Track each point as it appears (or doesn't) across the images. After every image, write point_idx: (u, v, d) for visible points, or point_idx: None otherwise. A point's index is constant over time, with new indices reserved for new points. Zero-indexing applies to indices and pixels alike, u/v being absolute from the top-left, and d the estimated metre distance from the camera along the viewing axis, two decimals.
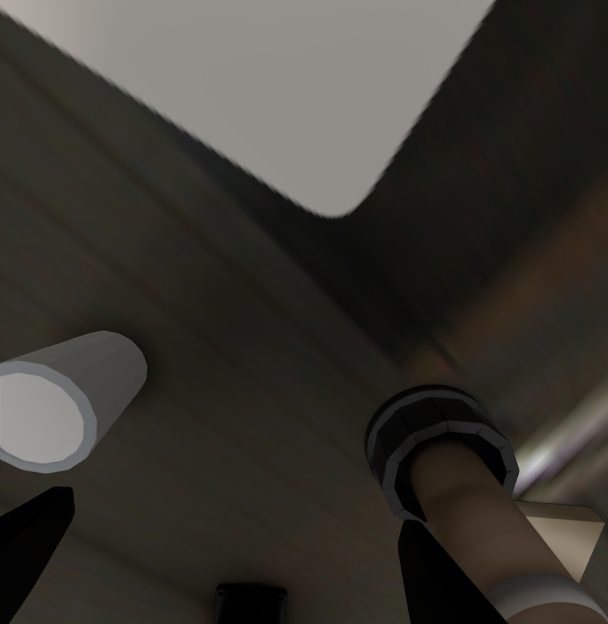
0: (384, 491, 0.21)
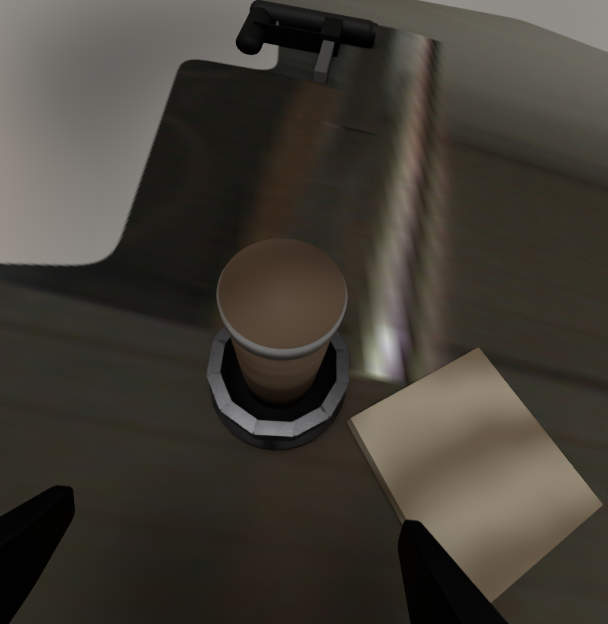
0: (225, 411, 0.19)
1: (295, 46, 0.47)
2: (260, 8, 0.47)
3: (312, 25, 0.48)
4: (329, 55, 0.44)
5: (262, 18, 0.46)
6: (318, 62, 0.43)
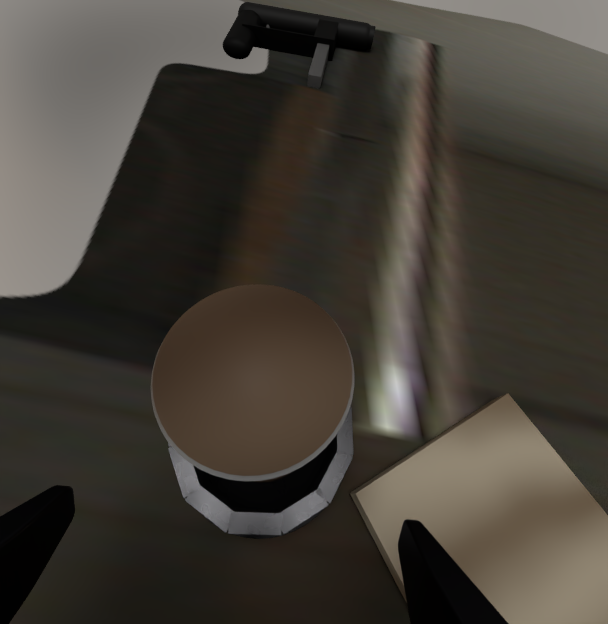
0: (190, 500, 0.14)
1: (287, 50, 0.44)
2: (249, 10, 0.44)
3: (305, 29, 0.45)
4: (323, 59, 0.41)
5: (251, 21, 0.43)
6: (312, 66, 0.40)
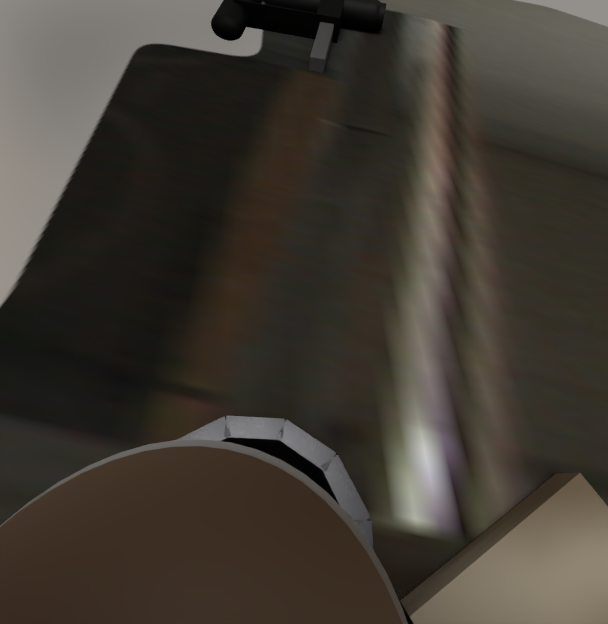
0: None
1: (285, 31, 0.38)
2: None
3: (306, 6, 0.39)
4: (328, 39, 0.35)
5: None
6: (314, 47, 0.34)
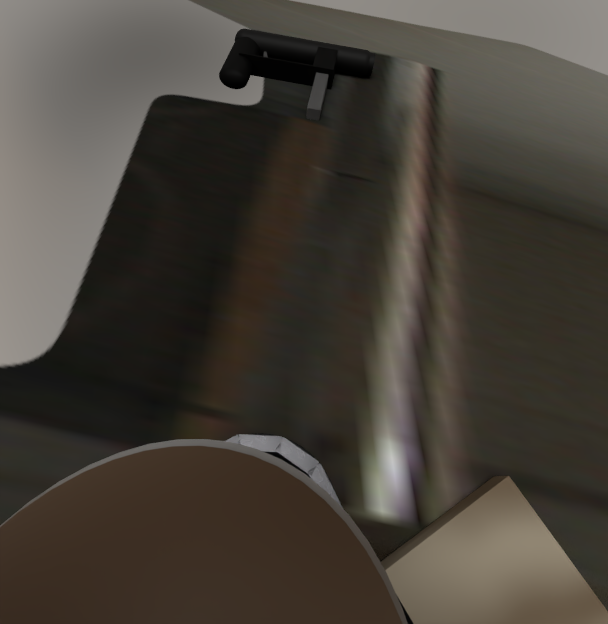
0: None
1: (285, 79, 0.43)
2: (246, 38, 0.43)
3: (303, 56, 0.44)
4: (323, 90, 0.40)
5: (248, 49, 0.42)
6: (311, 98, 0.39)
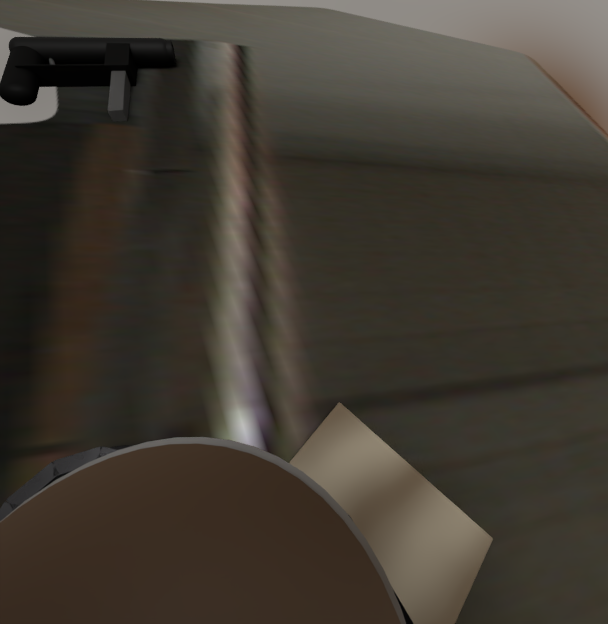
0: None
1: (82, 83, 0.40)
2: (21, 47, 0.39)
3: (95, 56, 0.41)
4: (122, 88, 0.38)
5: (27, 59, 0.38)
6: (110, 99, 0.37)
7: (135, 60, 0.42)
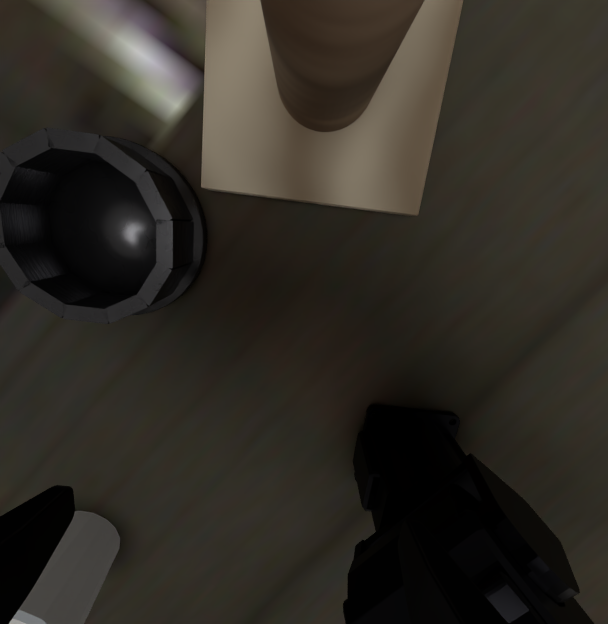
0: (112, 320, 0.16)
1: None
2: None
3: None
4: None
5: None
6: None
7: None
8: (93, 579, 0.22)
